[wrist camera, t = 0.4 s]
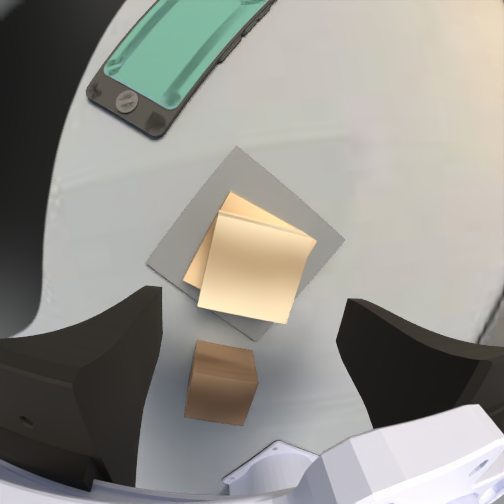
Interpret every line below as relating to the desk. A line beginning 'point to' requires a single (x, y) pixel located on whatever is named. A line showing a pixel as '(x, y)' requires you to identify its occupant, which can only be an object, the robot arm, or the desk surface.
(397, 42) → the desk surface
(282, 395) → the desk surface
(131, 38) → the smartphone
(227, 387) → the walnut cube
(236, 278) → the beech block
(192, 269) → the oak slab
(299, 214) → the slate coaster
